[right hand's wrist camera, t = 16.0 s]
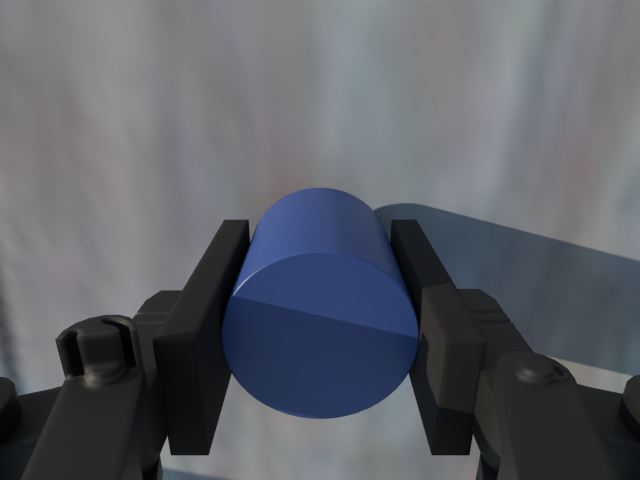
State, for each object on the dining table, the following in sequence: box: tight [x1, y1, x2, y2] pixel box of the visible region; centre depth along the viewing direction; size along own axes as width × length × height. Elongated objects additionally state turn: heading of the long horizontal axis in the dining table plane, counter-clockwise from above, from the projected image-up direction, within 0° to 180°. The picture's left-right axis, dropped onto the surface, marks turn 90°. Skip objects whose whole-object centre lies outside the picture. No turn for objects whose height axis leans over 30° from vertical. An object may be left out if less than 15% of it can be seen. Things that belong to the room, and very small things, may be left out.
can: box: [221, 188, 419, 419], centre depth 12 cm, size 4×4×5 cm
